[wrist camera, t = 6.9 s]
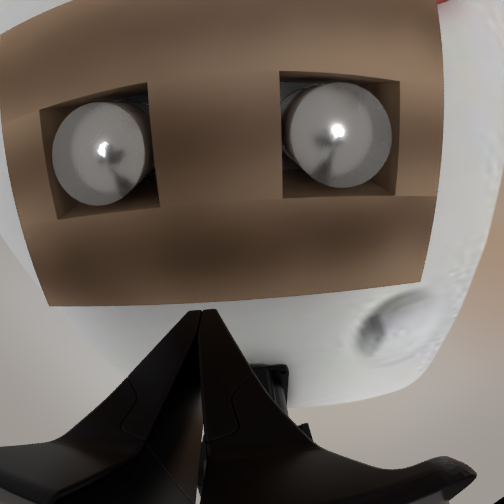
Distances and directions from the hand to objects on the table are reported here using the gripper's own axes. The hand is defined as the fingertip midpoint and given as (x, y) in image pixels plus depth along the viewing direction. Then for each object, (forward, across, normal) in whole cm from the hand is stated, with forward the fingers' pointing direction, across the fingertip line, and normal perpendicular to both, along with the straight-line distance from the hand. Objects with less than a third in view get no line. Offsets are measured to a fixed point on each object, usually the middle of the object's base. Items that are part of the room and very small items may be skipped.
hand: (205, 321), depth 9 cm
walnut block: (+12, -1, -5) cm, 13 cm away
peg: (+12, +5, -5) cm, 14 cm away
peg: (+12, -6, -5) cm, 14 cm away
